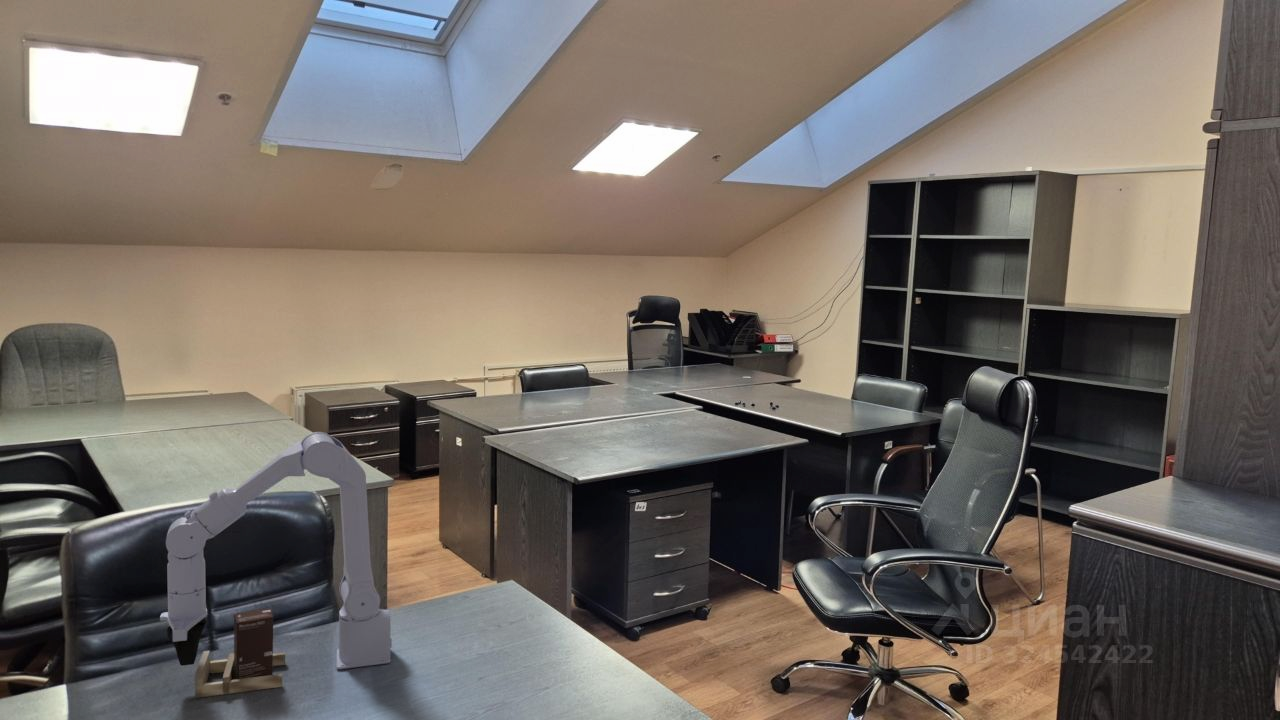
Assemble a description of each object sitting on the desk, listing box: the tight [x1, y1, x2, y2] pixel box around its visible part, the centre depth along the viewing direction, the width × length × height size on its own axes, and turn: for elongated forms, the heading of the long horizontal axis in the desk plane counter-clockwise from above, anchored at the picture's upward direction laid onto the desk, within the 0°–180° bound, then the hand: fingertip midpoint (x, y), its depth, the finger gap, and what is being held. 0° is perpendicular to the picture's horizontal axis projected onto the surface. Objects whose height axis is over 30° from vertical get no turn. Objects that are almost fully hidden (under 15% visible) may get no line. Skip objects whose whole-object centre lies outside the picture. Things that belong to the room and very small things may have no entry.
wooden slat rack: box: [194, 650, 286, 699], centre depth 143 cm, size 14×9×4 cm
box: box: [233, 607, 274, 680], centre depth 144 cm, size 6×4×12 cm
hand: (187, 663), depth 140 cm, fingers closed
